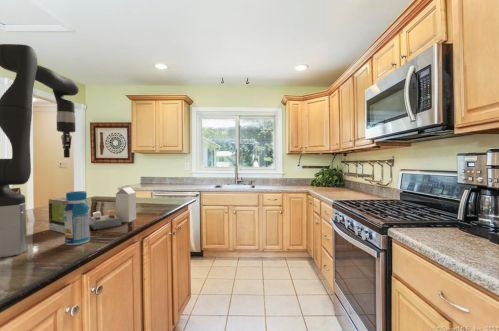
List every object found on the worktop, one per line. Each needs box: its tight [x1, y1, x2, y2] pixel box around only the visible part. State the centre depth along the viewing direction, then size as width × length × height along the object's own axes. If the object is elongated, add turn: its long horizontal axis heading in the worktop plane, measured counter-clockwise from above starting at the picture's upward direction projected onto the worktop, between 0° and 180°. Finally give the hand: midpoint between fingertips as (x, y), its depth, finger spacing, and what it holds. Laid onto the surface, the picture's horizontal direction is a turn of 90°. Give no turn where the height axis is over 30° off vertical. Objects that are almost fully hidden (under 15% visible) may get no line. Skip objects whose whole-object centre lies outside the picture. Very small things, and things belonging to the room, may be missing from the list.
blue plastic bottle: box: [64, 190, 91, 246], centre depth 104 cm, size 8×8×20 cm
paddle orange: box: [106, 209, 116, 215], centre depth 134 cm, size 4×3×2 cm
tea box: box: [48, 196, 87, 234], centre depth 124 cm, size 15×10×15 cm, turn 58°
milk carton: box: [115, 184, 137, 223], centre depth 141 cm, size 7×7×19 cm
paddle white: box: [92, 210, 103, 218], centre depth 130 cm, size 4×3×2 cm
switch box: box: [89, 214, 122, 231], centre depth 132 cm, size 14×12×4 cm
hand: (66, 157), depth 129 cm, fingers closed
